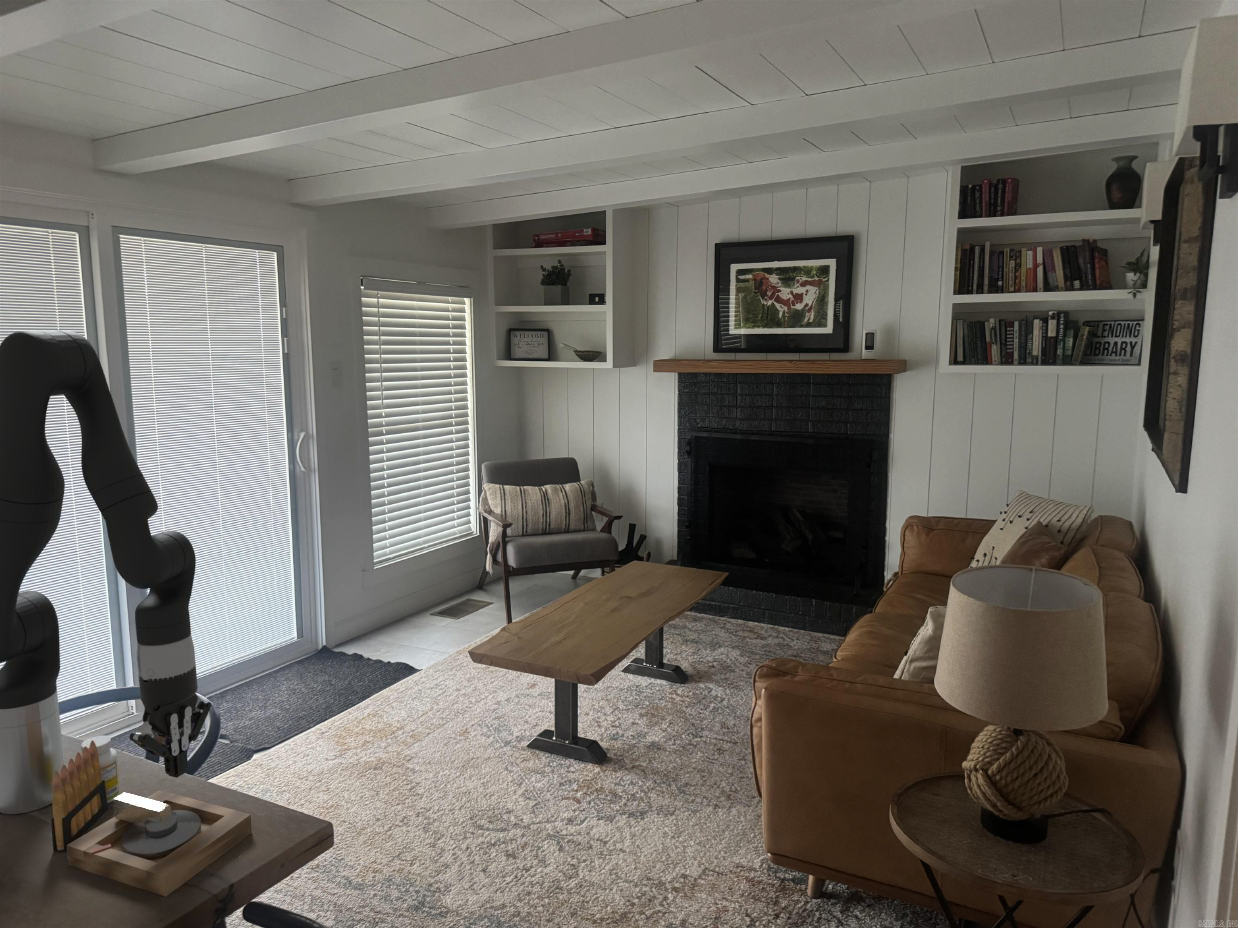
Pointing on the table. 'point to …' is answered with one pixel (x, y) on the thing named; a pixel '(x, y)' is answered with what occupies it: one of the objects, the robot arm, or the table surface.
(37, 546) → the robot arm
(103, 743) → the supplement bottle
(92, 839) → the wooden tray
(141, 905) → the table surface
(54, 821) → the ammunition clip
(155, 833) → the dial
